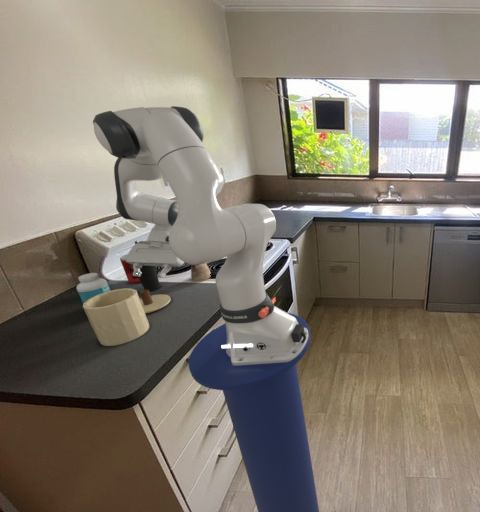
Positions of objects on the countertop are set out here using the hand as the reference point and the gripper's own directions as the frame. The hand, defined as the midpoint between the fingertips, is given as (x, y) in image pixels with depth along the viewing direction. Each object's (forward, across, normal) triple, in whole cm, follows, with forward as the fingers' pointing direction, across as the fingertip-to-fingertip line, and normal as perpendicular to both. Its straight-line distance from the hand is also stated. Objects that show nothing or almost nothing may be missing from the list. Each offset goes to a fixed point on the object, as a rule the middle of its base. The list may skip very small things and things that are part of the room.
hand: (148, 276), depth 101 cm
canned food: (-4, -22, +18) cm, 29 cm away
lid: (+9, 0, +4) cm, 10 cm away
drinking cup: (+1, -10, +14) cm, 17 cm away
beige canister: (+20, +6, -6) cm, 22 cm away
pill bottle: (+12, -14, +2) cm, 19 cm away
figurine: (-7, +3, +21) cm, 23 cm away
